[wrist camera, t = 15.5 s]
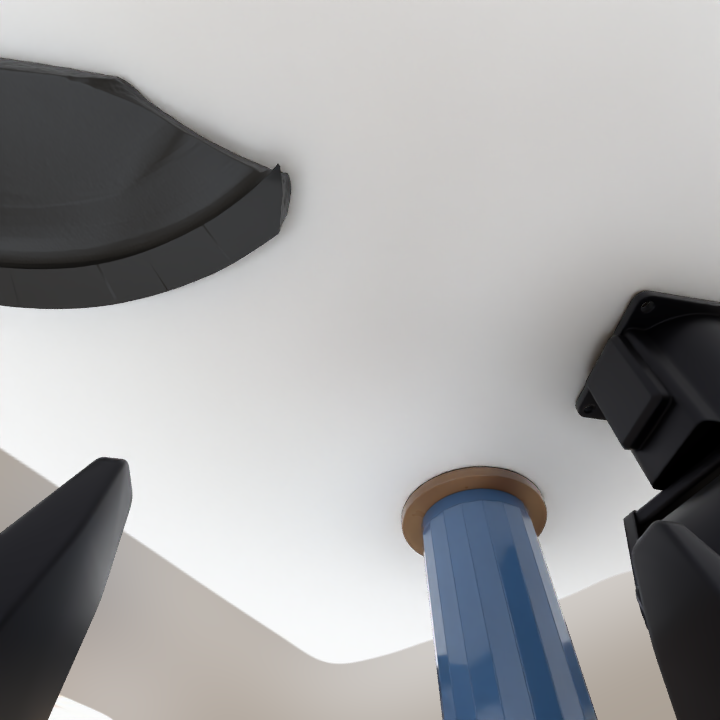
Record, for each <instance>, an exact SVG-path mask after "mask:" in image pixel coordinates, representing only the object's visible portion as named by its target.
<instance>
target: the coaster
mask: <svg viewBox="0 0 720 720" xmlns="http://www.w3.org/2000/svg"><path fill="white" fill-rule="evenodd" d="M480 488H484V489H496V490H500V491H504V492H507V493H510V494H512V495H514V496H516V497H517V498H519V499H520V500H521V501H522V502H523V503H524V504H525V505H526V507H527V509H528V511H529V513H530V516H531V519H532V523H533V525H534V528H535V531H536V534H537V537H538V536H539V535H540V534H541V532H542V530H543V528H544V526H545V523H546V520H547V509H546V505H545V503H544V500H543V497H542V494H541V493H540V491H539V490H538V488H537V487H536V486H535V485H534V484H533V483H532V482H531V481H529V480H528V479H527V478H525V477H523V476H521V475H519V474H517V473H514V472H512V471H508V470H505V469H499V468H492V467H472V468H464V469H458V470H454V471H451V472H447V473H444V474H442V475H439V476H437V477H435V478H433V479H431V480H429V481H427V482H426V483H424V484H423V485H421V486H420V487H419V488H418V489H417V490H415V491H414V492H413V494H412V495H411V496H410V497H409V499H408V500H407V502H406V504H405V506H404V508H403V512H402V529H403V534H404V537H405V539H406V541H407V542H408V544H409V545H410V546H411V547H412V548H413V549H414V550H415V551H416V552H418V553H419V554H421V555H422V556H424V553H423V540H422V531H421V524H422V520H423V517H424V515H425V514H426V512H427V511H428V510H429V508H430V507H431V506H433V505H434V504H435V503H436V502H438V501H439V500H441V499H442V498H444V497H446V496H448V495H451V494H453V493H456V492H460V491H464V490H469V489H480Z"/></svg>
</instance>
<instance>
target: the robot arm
mask: <svg viewBox="0 0 720 720" xmlns="http://www.w3.org/2000/svg"><path fill="white" fill-rule="evenodd" d="M647 301H649V304H648V305H647V306H645V307H641V306H642V305H643V304H644V303H645V302H647ZM588 405H590V406H589V407H587V408H585V407H586V406H588ZM575 406H576V409H577V411H578V413H579V414H580V415H581V416H583V417H587V418H594V419H601V420H607V421H608V423H609V425H610V426H611V428H612V430H613V432H614V433H615V435H616V437H617V438H618V440H619V442H620V444H621V445H622V447H623V448H624V449H625V450H631V452H632V453H633V455H634V457H635V458H636V460H637V462H638V463H639V465H640V467H641V468H642V470H643V472H644V473H645V475H646V477H647V478H648V480H649V482H650V484H651V485H652V487H653V488H654V489H657V490H662V491H661V492H660V493H659V494H658V495H656V496H655V497H654V498H653V499H651V500H650V501H649V502H648V503H646V504H645V505H644V506H643V507H642V508H640V509H639V510H638V511H636V510H634V511H632V512H631V513H630V514H629V515H627V516H626V517H625V518H624V526H625V531H626V537H627V542H628V548H629V553H630V559H631V564H632V570H633V575H634V580H635V586H636V597H637V601H638V603H639V606H640V610H641V613H642V616H643V618H644V620H645V624H646V627H647V629H648V630H649V634H650V638H651V642H652V645H653V649H654V652H655V655H656V659H657V662H658V665H659V667H660V671H661V674H662V677H663V680H664V682H665V685H666V688H667V691H668V694H669V697H670V700H671V703H672V706H673V709H674V712H675V715H676V718H677V720H720V303H719V302H713V301H707V300H701V299H695V298H689V297H682V296H676V295H670V294H664V293H658V292H652V291H643V292H641V293H639V294H637V295H636V296H635V297H634V298H633V299H632V301H631V302H630V304H629V306H628V308H627V310H626V312H625V313H624V315H623V317H622V319H621V321H620V323H619V324H618V326H617V328H616V330H615V332H614V334H613V336H612V337H611V338H610V339H609V340H608V342H607V344H606V346H605V348H604V349H603V351H602V353H601V355H600V357H599V359H598V361H597V362H596V364H595V366H594V368H593V370H592V372H591V373H590V375H589V377H588V379H587V381H586V385H585V387H584V389H583V391H582V393H581V394H580V396H579V398H578V400H577V402H576V405H575ZM131 502H132V486H131V478H130V471H129V465H128V462H127V461H126V460H124V459H118V458H109V457H101V458H98V459H96V460H95V461H93V462H92V463H91V464H89V465H88V466H87V467H86V468H84V469H83V470H82V471H80V472H79V473H78V474H76V475H75V476H74V477H72V478H71V479H70V480H69V481H67V482H66V483H65V484H63V485H62V486H61V487H59V488H58V489H57V490H56V491H54V492H53V493H52V494H51V495H49V496H48V497H47V498H45V499H44V500H43V501H41V502H40V503H39V504H37V505H36V506H35V507H33V508H32V509H31V510H30V511H28V512H27V513H26V514H24V515H23V516H22V517H21V518H19V519H18V520H17V521H15V522H14V523H13V524H11V525H10V526H9V527H7V528H6V529H5V530H4V531H2V532H1V533H0V720H48V718H49V716H50V714H51V711H52V709H53V707H54V705H55V702H56V700H57V698H58V696H59V693H60V691H61V689H62V686H63V684H64V682H65V680H66V678H67V675H68V673H69V671H70V669H71V666H72V664H73V662H74V660H75V657H76V655H77V653H78V650H79V648H80V646H81V644H82V641H83V639H84V637H85V635H86V633H87V630H88V628H89V626H90V624H91V621H92V619H93V617H94V615H95V612H96V610H97V607H98V605H99V602H100V600H101V597H102V594H103V591H104V588H105V585H106V582H107V579H108V576H109V573H110V570H111V566H112V564H113V560H114V557H115V554H116V551H117V547H118V545H119V542H120V538H121V535H122V532H123V529H124V526H125V523H126V520H127V516H128V513H129V510H130V507H131Z"/></svg>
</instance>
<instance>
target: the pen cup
mask: <svg viewBox="0 0 720 720" xmlns="http://www.w3.org/2000/svg"><path fill="white" fill-rule="evenodd" d="M421 531H422V540H423V553H424V562H425V571H426V579H427V588H428V597H429V605H430V614H431V623H432V631H433V640H434V649H435V658H436V666H437V674H438V684H439V691H440V701H441V710H442V718H443V720H597V717H596V713H595V710H594V707H593V704H592V702H591V698H590V695H589V692H588V689H587V686H586V683H585V680H584V677H583V674H582V671H581V668H580V665H579V662H578V659H577V656H576V653H575V650H574V646H573V643H572V640H571V637H570V634H569V631H568V629H567V625H566V622H565V619H564V616H563V613H562V610H561V607H560V604H559V601H558V598H557V595H556V592H555V589H554V586H553V583H552V579H551V576H550V573H549V570H548V567H547V564H546V561H545V558H544V555H543V552H542V549H541V546H540V543H539V540H538V537H537V534H536V531H535V528H534V525H533V523H532V519H531V516H530V513H529V511H528V509H527V507H526V505H525V504H524V503H523V502H522V501H521V500H520V499H519V498H517V497H516V496H514V495H512V494H510V493H507V492H504V491H500V490H496V489H484V488H480V489H469V490H464V491H460V492H456V493H453V494H451V495H448V496H446V497H444V498H442V499H441V500H439V501H438V502H436V503H435V504H434V505H433V506H431V507H430V508H429V510H428V511H427V512H426V514H425V515H424V517H423V520H422V524H421Z"/></svg>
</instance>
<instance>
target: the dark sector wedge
mask: <svg viewBox="0 0 720 720" xmlns="http://www.w3.org/2000/svg"><path fill="white" fill-rule="evenodd" d="M290 194H291V184H290V179H289V176H288V174H287V173H282V172H281V171H280V165H279V164H277V165H276V167H275V168H274V169H273V170H272V169H270V168H267V167H265V166H262V165H259V164H257V163H255V162H252V161H250V160H248V159H246V158H243V157H241V156H239V155H237V154H235V153H233V152H230V151H229V150H227V149H225V148H223V147H220V146H219V145H217V144H215V143H212V142H210V141H208V140H207V139H205V138H203V137H202V136H200V135H198V134H197V133H195V132H193V131H192V130H190V129H189V128H187V127H186V126H184V125H182V124H181V123H179V122H178V121H177V120H175V119H174V118H172V117H171V116H169V115H168V114H166V113H164V112H163V111H161V110H160V109H159V108H157V107H156V106H154V105H153V104H152V103H150V102H149V101H147V100H146V99H145V98H144V97H143V96H142V95H140V93H139V92H138V91H137V90H136V89H135V88H134V87H132V86H131V85H130V84H129V83H127V82H126V81H124V80H122V79H121V78H119V77H114V76H108V75H103V74H97V73H91V72H85V71H80V70H74V69H71V68H63V67H56V66H51V65H45V64H40V63H33V62H24V61H17V60H12V59H4V58H0V305H1V306H10V307H21V308H39V309H73V308H89V307H98V306H106V305H113V304H119V303H124V302H128V301H133V300H137V299H141V298H145V297H149V296H153V295H156V294H160V293H163V292H166V291H169V290H172V289H175V288H178V287H181V286H184V285H187V284H189V283H192V282H194V281H197V280H199V279H202V278H204V277H206V276H209V275H211V274H213V273H215V272H218V271H220V270H221V269H223V268H225V267H227V266H229V265H231V264H233V263H235V262H236V261H238V260H240V259H241V258H243V257H245V256H246V255H248V254H249V253H251V252H252V251H254V250H255V249H257V248H258V247H260V246H262V245H263V244H265V243H266V242H267V241H269V240H270V239H272V238H273V237H274V236H276V235H277V234H278V233H279V231H280V228H281V226H282V223H283V221H284V219H285V217H286V216H287V212H288V206H289V201H290Z"/></svg>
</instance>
